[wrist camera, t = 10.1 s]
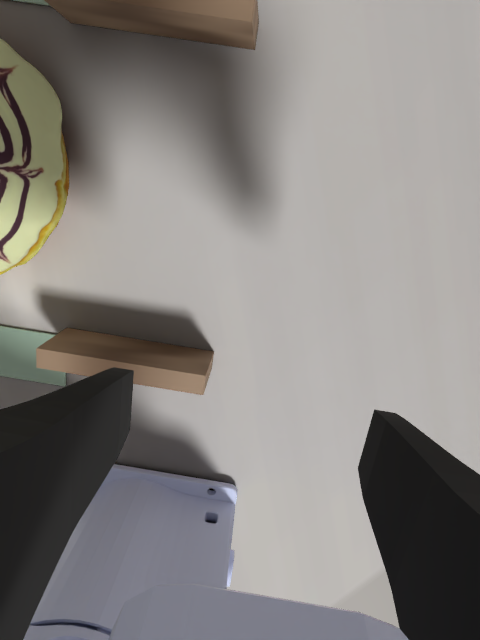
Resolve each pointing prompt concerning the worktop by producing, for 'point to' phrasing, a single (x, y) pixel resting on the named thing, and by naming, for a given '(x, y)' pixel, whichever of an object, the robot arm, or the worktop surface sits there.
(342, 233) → the worktop surface
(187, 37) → the tunnel walls
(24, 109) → the decorated donut
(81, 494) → the robot arm
